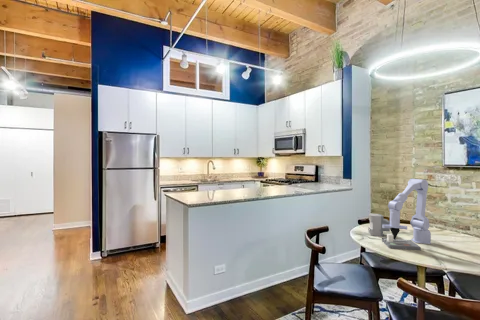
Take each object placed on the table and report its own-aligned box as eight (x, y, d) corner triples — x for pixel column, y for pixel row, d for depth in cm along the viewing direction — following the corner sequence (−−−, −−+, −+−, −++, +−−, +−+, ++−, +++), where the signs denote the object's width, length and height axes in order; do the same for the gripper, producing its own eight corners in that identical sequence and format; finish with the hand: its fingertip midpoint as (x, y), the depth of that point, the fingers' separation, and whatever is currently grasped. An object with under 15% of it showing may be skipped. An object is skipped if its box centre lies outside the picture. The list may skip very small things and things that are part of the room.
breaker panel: (410, 243, 175) (410, 239, 175) (420, 250, 161) (420, 246, 161) (382, 241, 178) (382, 237, 178) (389, 248, 165) (389, 243, 165)
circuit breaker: (392, 236, 188) (392, 216, 188) (371, 235, 191) (371, 215, 191) (388, 233, 196) (388, 214, 195) (368, 232, 198) (368, 213, 198)
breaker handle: (391, 240, 172) (391, 234, 172) (393, 242, 169) (393, 235, 169) (386, 240, 173) (386, 233, 173) (388, 241, 170) (388, 235, 170)
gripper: (385, 219, 168) (384, 240, 168) (409, 221, 165) (409, 242, 165) (381, 217, 175) (381, 237, 175) (404, 218, 172) (404, 238, 172)
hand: (394, 239), depth 170 cm, fingers closed
